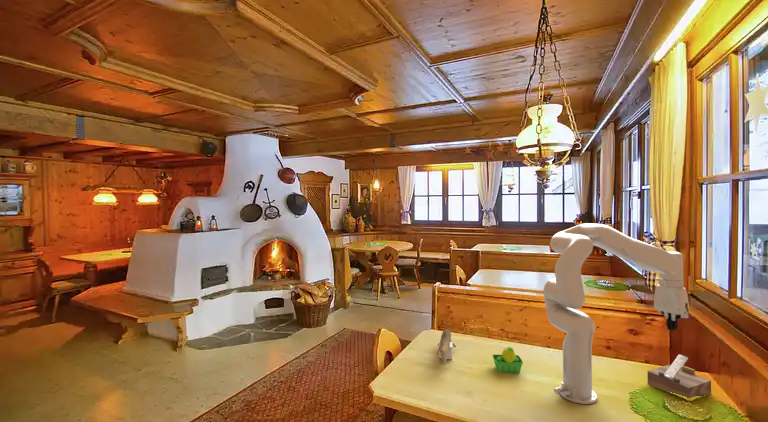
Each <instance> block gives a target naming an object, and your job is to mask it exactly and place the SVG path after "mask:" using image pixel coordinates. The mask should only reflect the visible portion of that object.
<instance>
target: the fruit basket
mask: <svg viewBox="0 0 768 422" xmlns="http://www.w3.org/2000/svg"><path fill="white" fill-rule="evenodd" d="M492 358H493V362H494V365H495V369H496V371H497V373H506V374H509V373H511V374H514V373H515V374H520V372H521V370H522V366H523V363H524V362H523V360H522V359H521V356H519V355H518V354H516V353H515V351H514V349H513V347H511V346H508V347H506V348H504V349H503V350H502V353H501V354H492Z"/></svg>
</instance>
